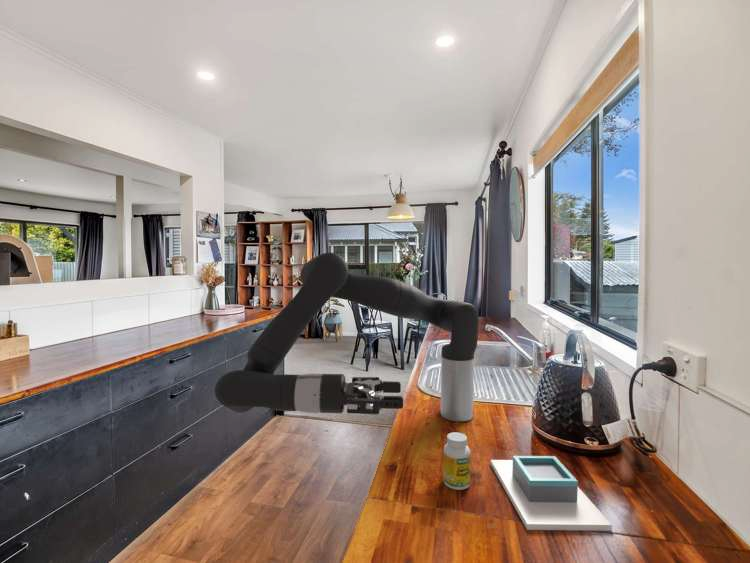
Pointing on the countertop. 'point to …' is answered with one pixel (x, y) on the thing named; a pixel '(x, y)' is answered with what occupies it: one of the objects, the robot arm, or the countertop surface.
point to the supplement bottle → (456, 462)
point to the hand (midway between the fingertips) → (401, 394)
